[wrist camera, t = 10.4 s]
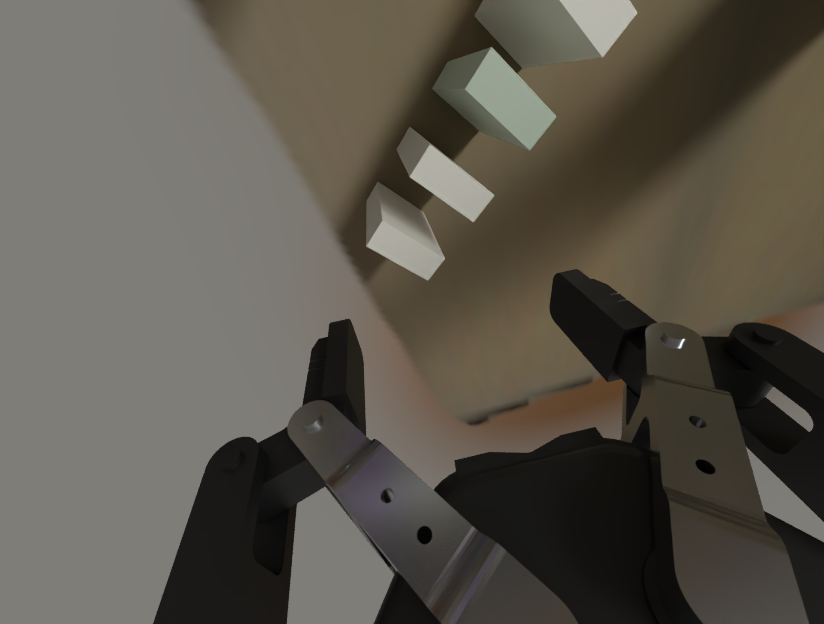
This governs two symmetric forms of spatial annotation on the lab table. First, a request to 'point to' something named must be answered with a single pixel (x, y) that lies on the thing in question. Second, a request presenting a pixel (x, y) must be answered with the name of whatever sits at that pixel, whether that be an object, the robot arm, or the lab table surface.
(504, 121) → the domino
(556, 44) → the domino
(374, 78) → the lab table surface
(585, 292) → the robot arm
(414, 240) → the domino
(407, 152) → the domino
